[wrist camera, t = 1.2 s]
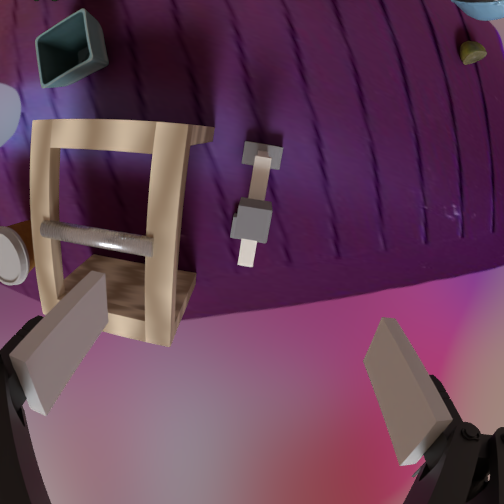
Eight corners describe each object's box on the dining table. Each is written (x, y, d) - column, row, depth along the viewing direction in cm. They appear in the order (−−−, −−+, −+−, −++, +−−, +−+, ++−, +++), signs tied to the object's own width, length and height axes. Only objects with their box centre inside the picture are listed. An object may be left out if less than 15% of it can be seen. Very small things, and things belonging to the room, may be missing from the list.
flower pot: (66, 48, 35) (33, 38, 27) (112, 23, 34) (84, 6, 26) (75, 93, 38) (41, 89, 30) (122, 69, 37) (93, 59, 29)
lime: (478, 56, 33) (495, 52, 29) (468, 74, 35) (485, 71, 30) (460, 37, 33) (477, 31, 28) (449, 54, 34) (466, 49, 30)
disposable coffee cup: (50, 199, 45) (5, 219, 34) (71, 249, 48) (32, 279, 37) (18, 219, 46) (-24, 241, 35) (39, 264, 49) (1, 294, 38)
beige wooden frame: (214, 127, 41) (185, 124, 25) (195, 284, 49) (168, 352, 34) (98, 118, 40) (27, 120, 24) (93, 265, 49) (39, 317, 33)
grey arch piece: (282, 147, 41) (294, 155, 26) (265, 238, 46) (267, 293, 31) (245, 140, 41) (236, 145, 26) (231, 233, 46) (216, 285, 31)
